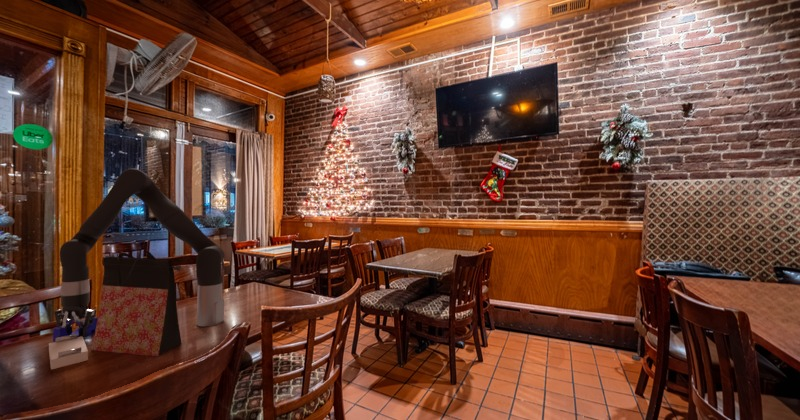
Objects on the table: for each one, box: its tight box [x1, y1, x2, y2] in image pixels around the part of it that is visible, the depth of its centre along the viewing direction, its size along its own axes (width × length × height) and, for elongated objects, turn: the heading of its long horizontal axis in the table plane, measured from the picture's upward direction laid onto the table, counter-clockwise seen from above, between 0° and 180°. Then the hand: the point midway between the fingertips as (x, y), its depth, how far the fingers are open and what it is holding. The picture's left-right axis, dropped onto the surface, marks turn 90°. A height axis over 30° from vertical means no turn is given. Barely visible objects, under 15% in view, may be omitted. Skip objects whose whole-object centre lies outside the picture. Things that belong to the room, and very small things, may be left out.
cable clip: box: [52, 316, 98, 342], centre depth 117 cm, size 12×4×6 cm, turn 172°
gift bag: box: [90, 251, 182, 357], centre depth 110 cm, size 29×14×35 cm, turn 84°
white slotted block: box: [48, 334, 89, 370], centre depth 103 cm, size 8×17×4 cm, turn 50°
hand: (75, 336), depth 117 cm, fingers closed on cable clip, 4 cm apart
